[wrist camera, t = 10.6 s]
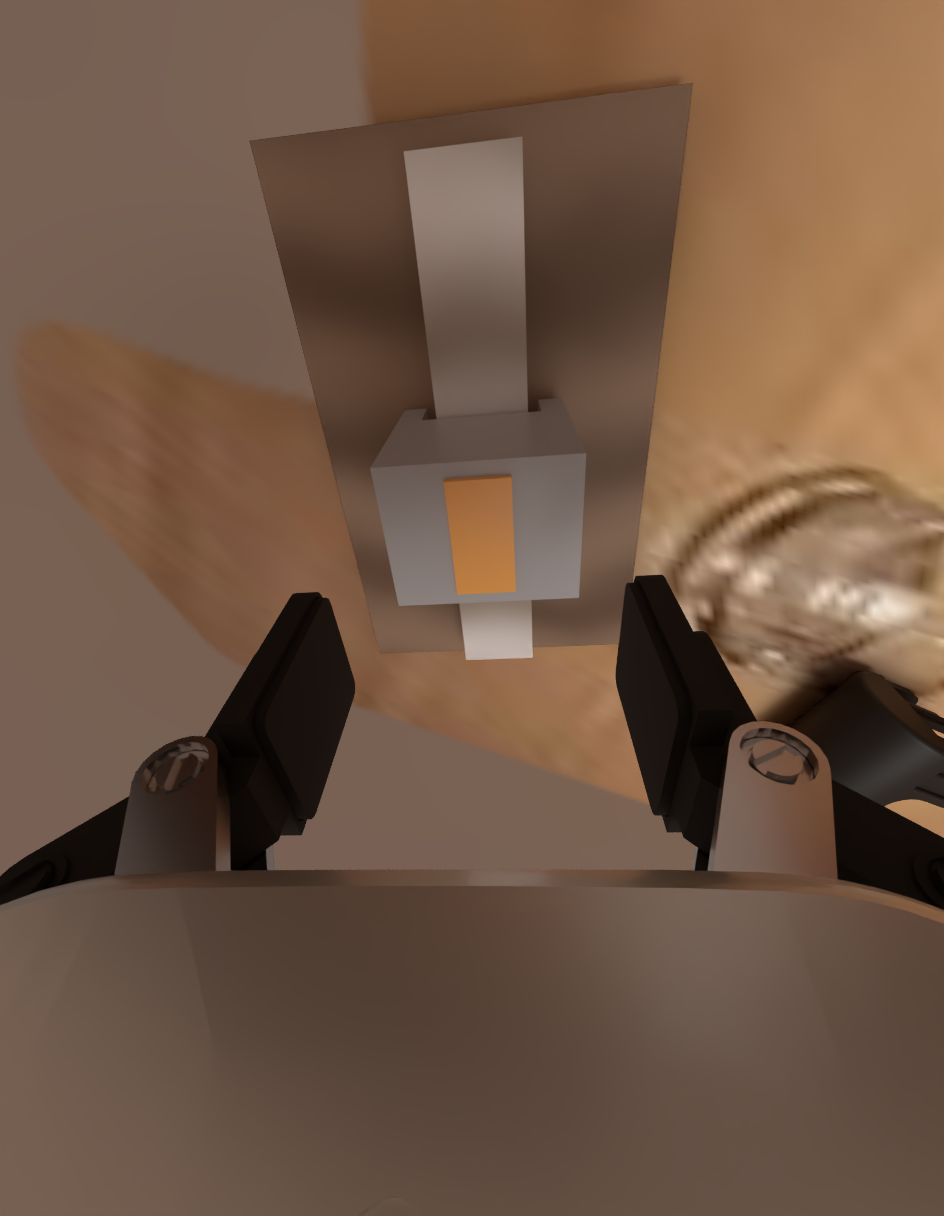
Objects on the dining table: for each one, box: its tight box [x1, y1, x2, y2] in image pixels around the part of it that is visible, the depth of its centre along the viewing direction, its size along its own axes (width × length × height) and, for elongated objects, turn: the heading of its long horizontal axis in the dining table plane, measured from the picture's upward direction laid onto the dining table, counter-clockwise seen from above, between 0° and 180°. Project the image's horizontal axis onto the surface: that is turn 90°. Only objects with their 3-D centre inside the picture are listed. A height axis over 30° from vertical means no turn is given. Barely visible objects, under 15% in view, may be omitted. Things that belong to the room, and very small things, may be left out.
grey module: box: [370, 398, 586, 606], centre depth 18 cm, size 5×6×7 cm
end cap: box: [789, 671, 944, 808], centre depth 29 cm, size 10×7×7 cm
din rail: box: [250, 83, 693, 660], centre depth 21 cm, size 22×14×3 cm, turn 5°
